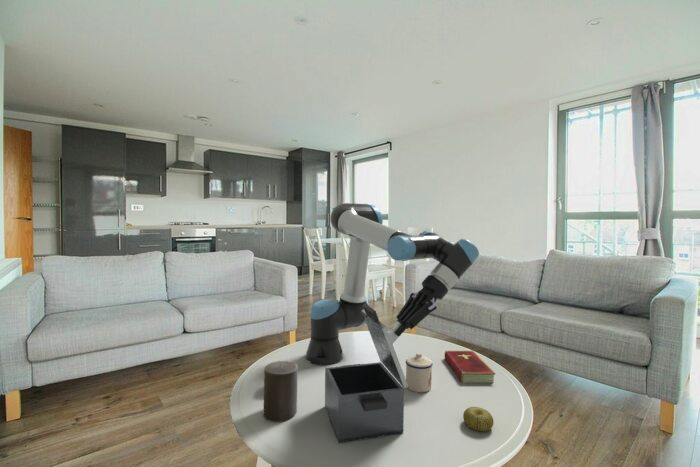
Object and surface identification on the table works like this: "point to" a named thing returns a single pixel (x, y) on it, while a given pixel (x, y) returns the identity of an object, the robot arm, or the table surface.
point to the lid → (383, 344)
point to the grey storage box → (363, 402)
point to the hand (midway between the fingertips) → (387, 341)
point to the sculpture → (478, 419)
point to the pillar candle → (280, 391)
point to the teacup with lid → (418, 373)
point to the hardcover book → (469, 366)
